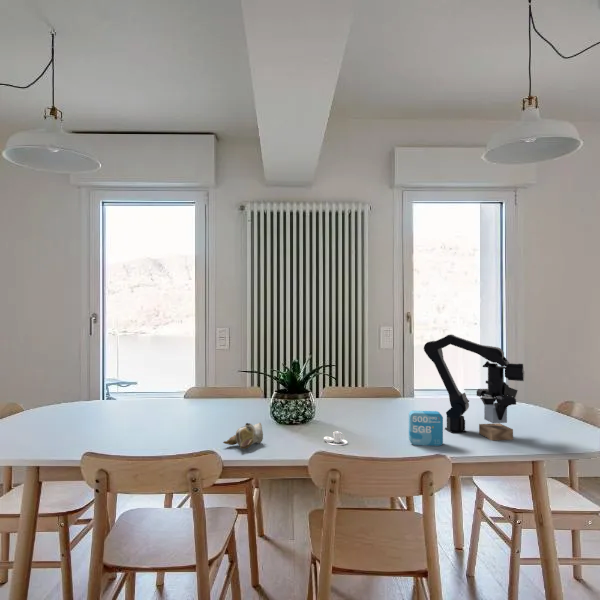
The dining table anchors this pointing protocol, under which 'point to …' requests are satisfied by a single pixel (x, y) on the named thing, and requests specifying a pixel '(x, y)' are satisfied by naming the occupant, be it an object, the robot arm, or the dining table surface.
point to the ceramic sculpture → (247, 436)
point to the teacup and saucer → (335, 438)
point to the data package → (425, 428)
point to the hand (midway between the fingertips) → (495, 417)
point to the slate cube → (493, 414)
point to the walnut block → (496, 431)
